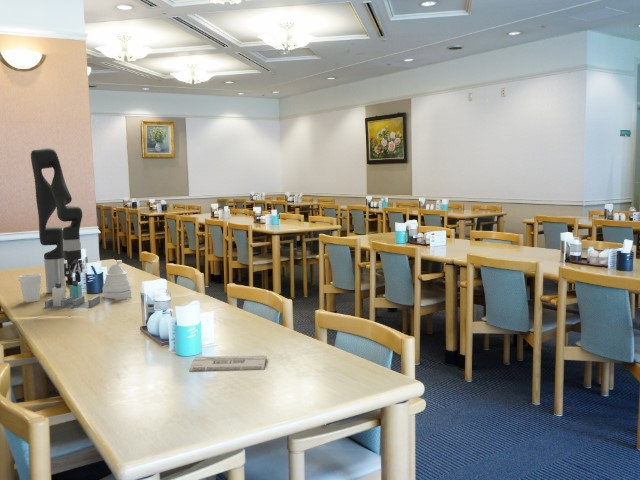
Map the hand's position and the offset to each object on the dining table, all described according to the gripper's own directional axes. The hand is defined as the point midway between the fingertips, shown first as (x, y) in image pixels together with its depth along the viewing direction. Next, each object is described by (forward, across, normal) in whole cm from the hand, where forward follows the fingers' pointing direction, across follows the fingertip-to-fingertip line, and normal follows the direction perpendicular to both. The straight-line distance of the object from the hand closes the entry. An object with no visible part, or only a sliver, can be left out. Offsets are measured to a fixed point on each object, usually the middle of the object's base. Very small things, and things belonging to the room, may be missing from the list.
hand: (74, 283), depth 267 cm
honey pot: (+9, -10, +16) cm, 21 cm away
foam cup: (+9, -1, -21) cm, 23 cm away
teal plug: (+9, -1, 0) cm, 9 cm away
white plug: (+8, +10, -3) cm, 13 cm away
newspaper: (+11, +95, +86) cm, 128 cm away
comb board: (+9, +10, +3) cm, 14 cm away
